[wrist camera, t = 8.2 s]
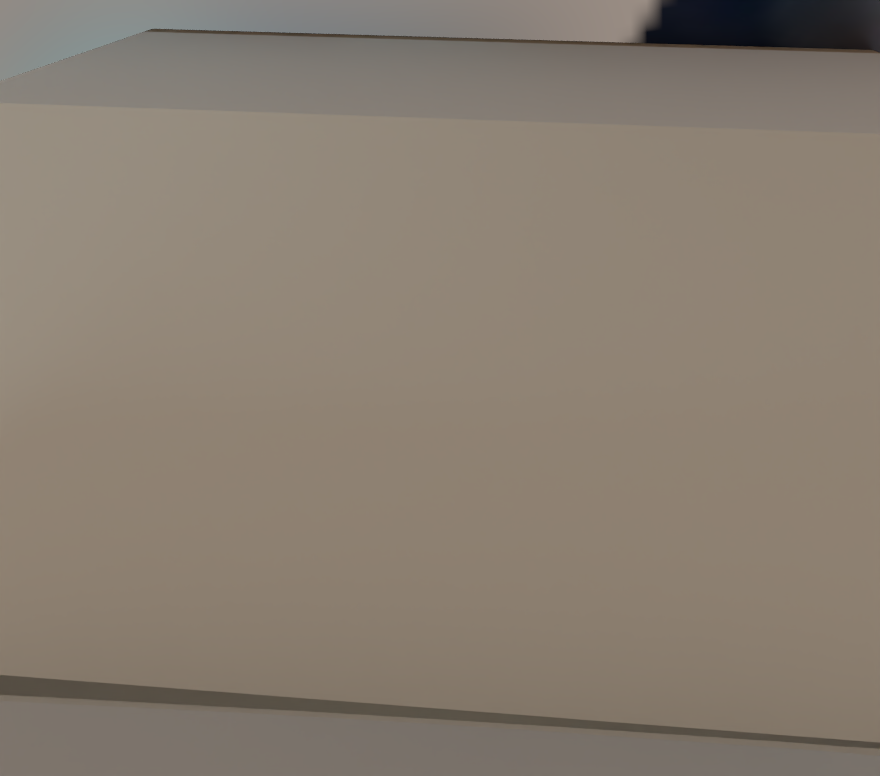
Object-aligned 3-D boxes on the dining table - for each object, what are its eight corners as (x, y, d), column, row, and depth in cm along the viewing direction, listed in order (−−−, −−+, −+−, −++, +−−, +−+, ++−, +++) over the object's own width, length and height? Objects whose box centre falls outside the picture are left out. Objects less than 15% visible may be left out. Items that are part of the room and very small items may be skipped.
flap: (1166, 175, 12) (1188, 144, 12) (1835, 845, 6) (1923, 823, 6) (-121, 127, 13) (-137, 98, 13) (-703, 647, 7) (-763, 615, 7)
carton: (872, 50, 22) (1176, 173, 12) (740, 555, 32) (849, 871, 21) (152, 28, 24) (-129, 125, 13) (224, 521, 33) (90, 806, 22)
